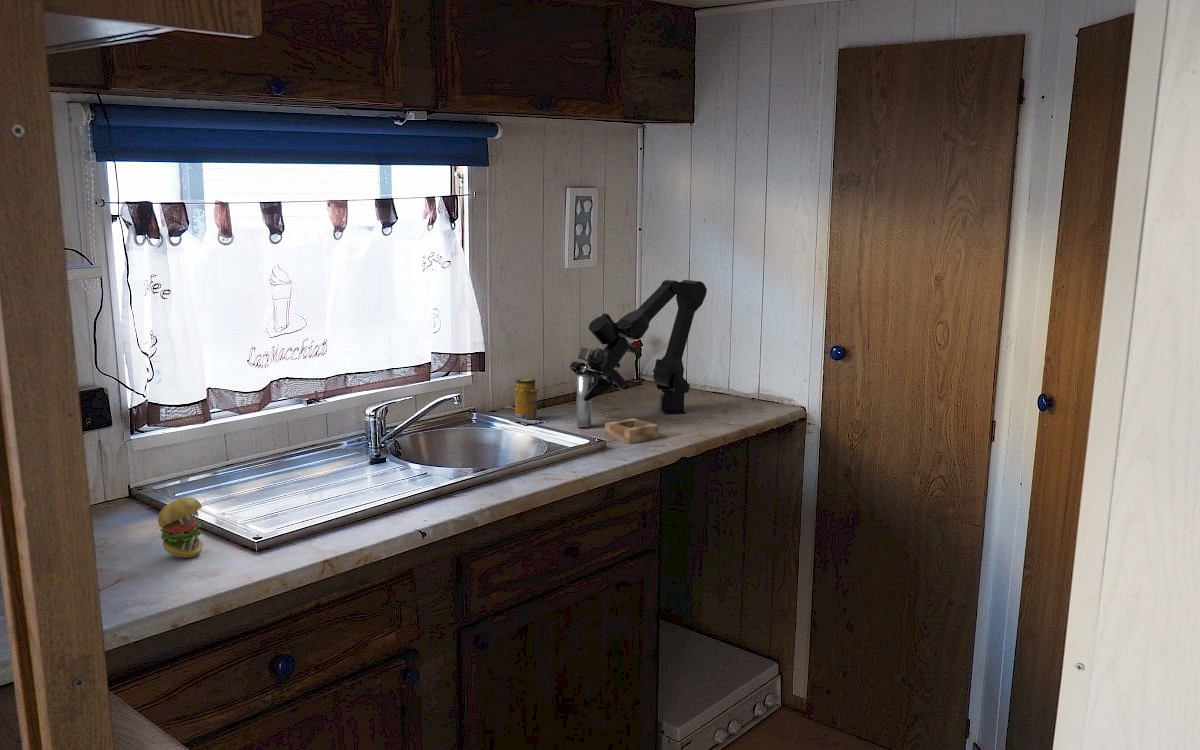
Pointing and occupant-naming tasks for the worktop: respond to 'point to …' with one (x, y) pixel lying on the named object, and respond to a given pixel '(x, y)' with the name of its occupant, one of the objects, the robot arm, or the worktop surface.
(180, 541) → the hamburger
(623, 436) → the socket
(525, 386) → the condiment
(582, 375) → the peg
